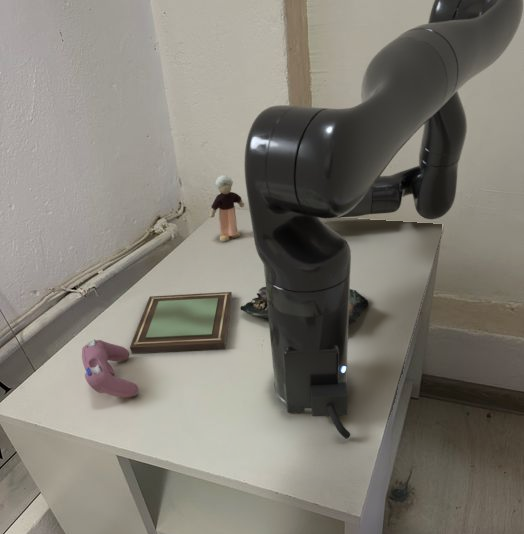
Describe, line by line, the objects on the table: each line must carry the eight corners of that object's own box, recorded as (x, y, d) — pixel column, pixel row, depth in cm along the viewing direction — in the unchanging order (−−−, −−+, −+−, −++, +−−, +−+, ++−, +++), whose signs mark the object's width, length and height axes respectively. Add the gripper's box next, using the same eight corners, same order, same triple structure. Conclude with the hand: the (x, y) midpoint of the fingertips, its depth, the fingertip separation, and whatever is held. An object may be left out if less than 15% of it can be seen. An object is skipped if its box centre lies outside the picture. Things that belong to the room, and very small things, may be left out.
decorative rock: (226, 305, 72) (264, 253, 82) (234, 336, 76) (270, 283, 86) (350, 319, 65) (375, 259, 75) (352, 352, 69) (376, 292, 79)
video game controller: (107, 369, 72) (72, 342, 67) (131, 351, 71) (97, 322, 67) (116, 413, 64) (76, 386, 60) (143, 393, 64) (105, 364, 59)
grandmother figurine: (222, 245, 97) (213, 183, 90) (211, 240, 100) (201, 179, 92) (251, 232, 101) (245, 171, 93) (239, 227, 104) (232, 167, 96)
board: (225, 349, 71) (223, 341, 70) (131, 353, 72) (129, 346, 71) (232, 297, 82) (231, 290, 81) (151, 302, 83) (149, 295, 82)
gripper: (342, 166, 98) (263, 172, 99) (350, 191, 87) (260, 198, 88) (342, 202, 103) (265, 207, 104) (349, 230, 91) (264, 236, 93)
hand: (263, 203), depth 96 cm, fingers open, 8 cm apart
